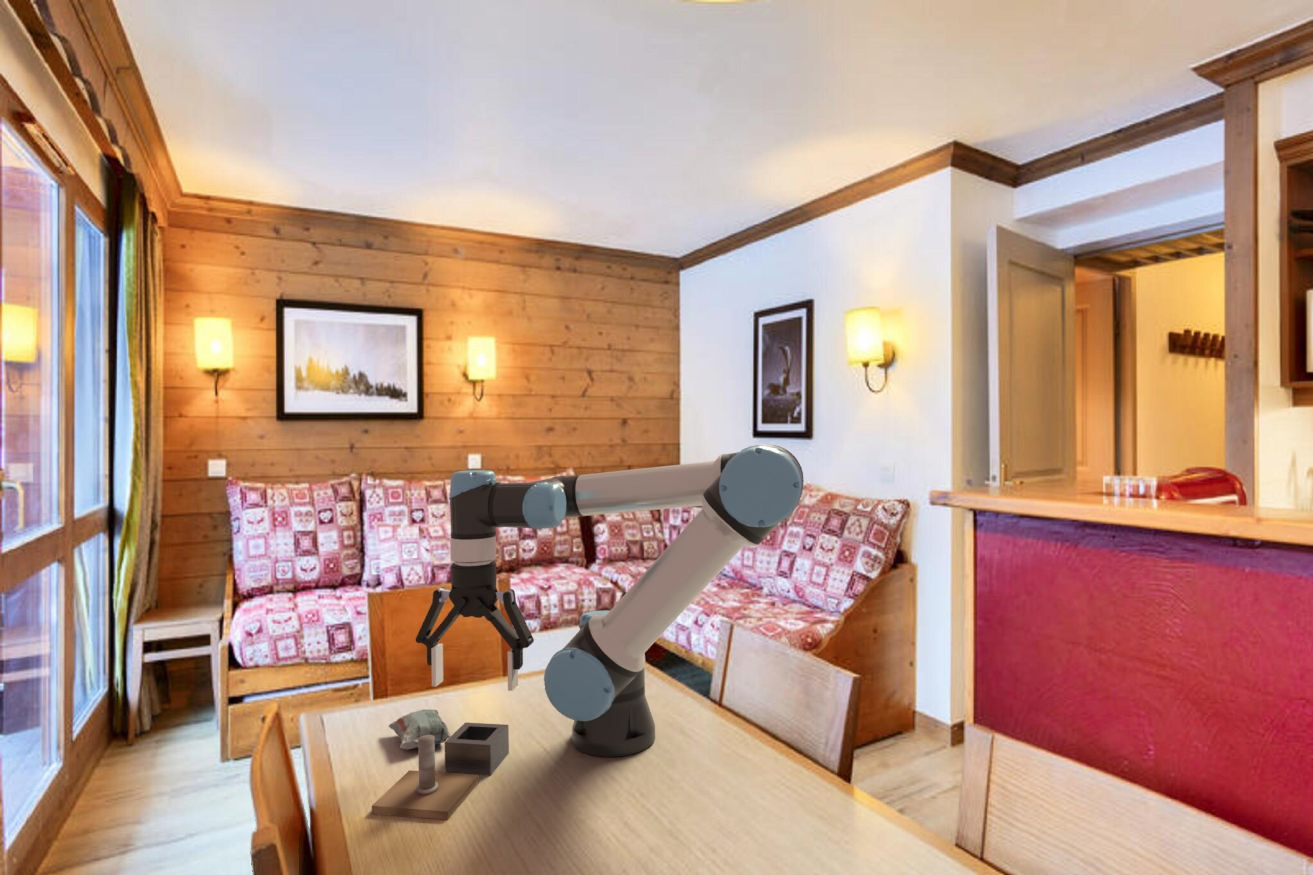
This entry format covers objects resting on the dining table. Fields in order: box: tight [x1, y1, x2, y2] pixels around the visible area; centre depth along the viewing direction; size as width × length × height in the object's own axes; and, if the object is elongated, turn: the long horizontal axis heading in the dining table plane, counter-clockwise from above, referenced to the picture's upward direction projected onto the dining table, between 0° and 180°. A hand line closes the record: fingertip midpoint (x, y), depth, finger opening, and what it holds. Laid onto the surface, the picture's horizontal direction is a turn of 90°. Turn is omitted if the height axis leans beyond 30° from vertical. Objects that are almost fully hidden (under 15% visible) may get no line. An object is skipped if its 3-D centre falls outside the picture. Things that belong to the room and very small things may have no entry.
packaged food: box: [388, 708, 451, 750], centre depth 129 cm, size 9×12×5 cm
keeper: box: [371, 735, 480, 820], centre depth 109 cm, size 12×11×9 cm
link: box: [444, 722, 510, 776], centre depth 120 cm, size 8×8×5 cm
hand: (474, 685), depth 120 cm, fingers open, 13 cm apart
